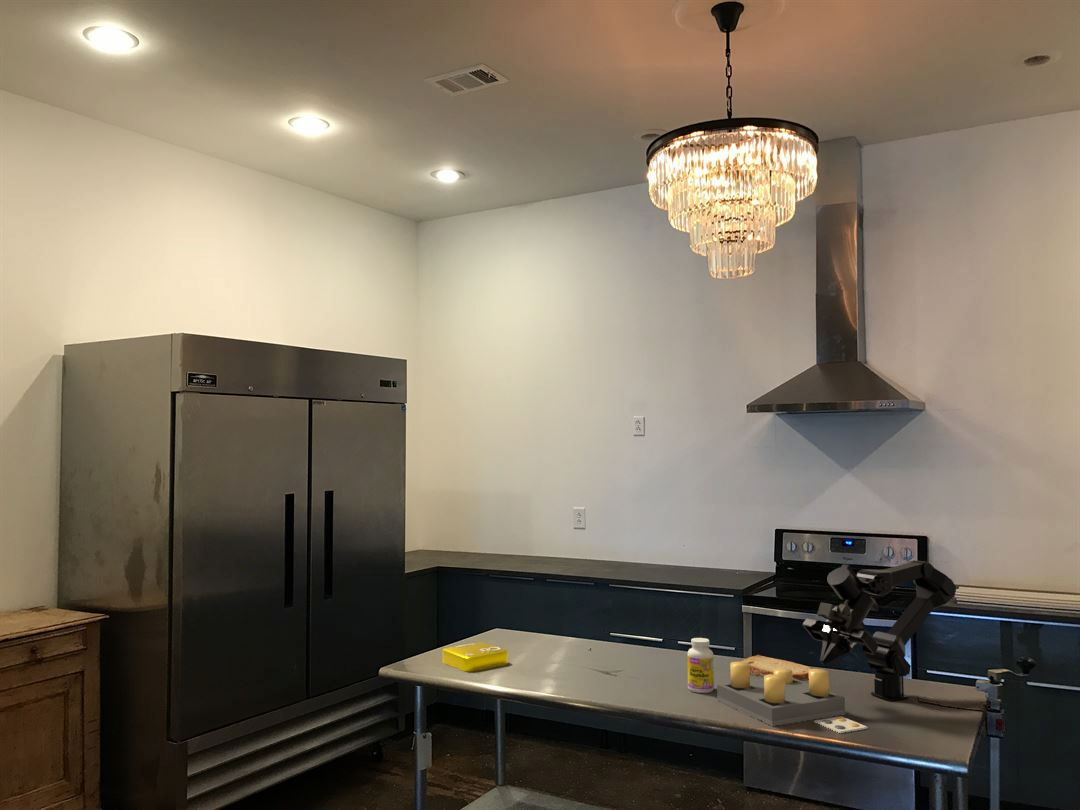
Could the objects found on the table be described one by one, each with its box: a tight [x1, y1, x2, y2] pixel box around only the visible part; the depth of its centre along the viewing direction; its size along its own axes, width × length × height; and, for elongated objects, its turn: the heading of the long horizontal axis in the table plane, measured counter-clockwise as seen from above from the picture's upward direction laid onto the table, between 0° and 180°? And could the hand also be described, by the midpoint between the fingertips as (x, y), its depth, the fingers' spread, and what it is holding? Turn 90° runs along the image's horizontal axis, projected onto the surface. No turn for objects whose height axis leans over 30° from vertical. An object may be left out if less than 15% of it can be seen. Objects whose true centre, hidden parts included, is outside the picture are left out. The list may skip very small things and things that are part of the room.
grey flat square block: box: [716, 677, 846, 727], centre depth 198 cm, size 21×21×4 cm
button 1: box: [729, 661, 751, 688], centre depth 202 cm, size 5×5×5 cm
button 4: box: [808, 668, 830, 696], centre depth 195 cm, size 5×5×5 cm
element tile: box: [442, 641, 509, 673], centre depth 242 cm, size 15×15×5 cm
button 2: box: [763, 675, 785, 703], centre depth 190 cm, size 5×5×5 cm
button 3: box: [773, 668, 793, 684], centre depth 207 cm, size 5×5×5 cm
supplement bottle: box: [687, 637, 715, 694], centre depth 213 cm, size 7×7×13 cm
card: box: [813, 715, 868, 734], centre depth 185 cm, size 8×8×1 cm
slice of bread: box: [740, 654, 812, 681], centre depth 230 cm, size 18×18×4 cm
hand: (821, 663), depth 196 cm, fingers closed
